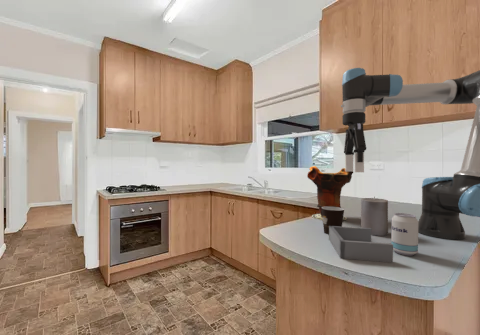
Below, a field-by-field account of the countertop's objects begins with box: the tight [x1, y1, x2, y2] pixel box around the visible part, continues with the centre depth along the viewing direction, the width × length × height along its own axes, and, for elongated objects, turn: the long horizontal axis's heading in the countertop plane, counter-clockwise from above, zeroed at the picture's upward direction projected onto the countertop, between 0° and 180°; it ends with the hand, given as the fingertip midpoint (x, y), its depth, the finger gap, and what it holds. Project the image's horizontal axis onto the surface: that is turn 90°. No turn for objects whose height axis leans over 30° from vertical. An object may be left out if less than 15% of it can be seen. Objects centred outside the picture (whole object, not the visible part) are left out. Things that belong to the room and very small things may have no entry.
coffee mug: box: [321, 207, 345, 235], centre depth 98 cm, size 12×9×10 cm
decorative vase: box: [307, 165, 354, 221], centre depth 126 cm, size 21×23×28 cm
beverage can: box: [390, 212, 419, 257], centre depth 75 cm, size 7×7×12 cm
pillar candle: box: [360, 196, 389, 237], centre depth 98 cm, size 10×10×15 cm
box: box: [328, 226, 394, 263], centre depth 77 cm, size 14×18×5 cm
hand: (353, 172), depth 86 cm, fingers open, 13 cm apart
